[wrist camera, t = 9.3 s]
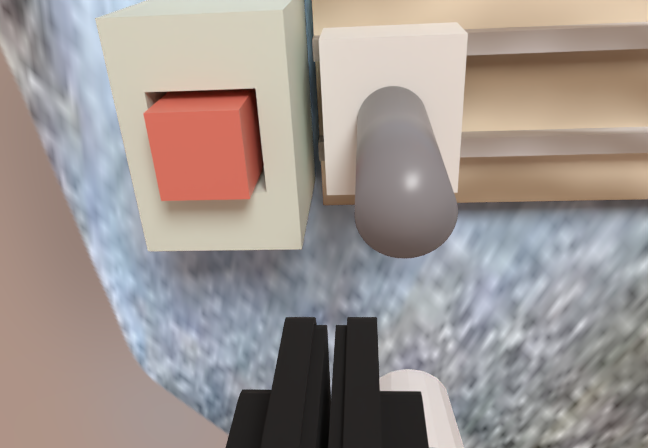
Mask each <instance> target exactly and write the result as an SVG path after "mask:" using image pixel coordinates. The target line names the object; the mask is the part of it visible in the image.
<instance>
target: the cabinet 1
mask: <svg viewBox="0 0 648 448" xmlns="http://www.w3.org/2000/svg"><path fill="white" fill-rule="evenodd" d="M95 19H96V24H97V28H98V33H99V37H100V42H101V46H102V50H103V55H104V59H105V64H106V68H107V72H108V77H109V81H110V86H111V90H112V95H113V99H114V103H115V108H116V112H117V117H118V121H119V125H120V130H121V134H122V139H123V143H124V147H125V152H126V156H127V161H128V165H129V170H130V174H131V178H132V183H133V187H134V192H135V196H136V200H137V205H138V209H139V214H140V218H141V223H142V227H143V231H144V236H145V240H146V245H147V249H148V251H211V250H291V249H302V246H303V241H304V235H305V230H306V225H307V220H308V214H309V209H310V204H311V199H312V193H313V188H314V183H315V163H314V147H313V131H312V115H311V99H310V83H309V67H308V51H307V35H306V19H305V3H304V0H146V1H144V2H141V3H138V4H135V5H132V6H129V7H126V8H124V9H121V10H118V11H115V12H112V13H109V14H106V15H103V16H101V17H98V18H95ZM253 88H255V89H256V98H257V107H258V117H259V126H260V135H261V145H262V154H263V163H264V166H263V169H262V171H261V174H260V176H259V178H258V181H257V183H256V186H255V188H254V191H253V193H252V195H251V198H250V199H236V200H185V201H161V198H160V193H159V188H158V183H157V178H156V173H155V169H154V164H153V159H152V154H151V149H150V144H149V139H148V134H147V129H146V124H145V120H144V115H143V113H144V112H145V111H146V110H148V109H149V108H150V107H151V106H152V105H153V104H155V103H156V102H157V101H158V100H159V99H160V98H162V97H163V96H164V95H165V94H166V93H167V92H169V91H196V90H224V89H253Z"/></svg>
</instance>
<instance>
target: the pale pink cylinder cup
mask: <svg viewBox="0 0 648 448" xmlns="http://www.w3.org/2000/svg"><path fill="white" fill-rule="evenodd" d="M379 384H380V391H421V394H422V399H423V406H424V414H425V421H426V429H427V437H428V444H429V448H464V446H463V443H462V440H461V436H460V433H459V430H458V427H457V423H456V420H455V417H454V413H453V410H452V407H451V404H450V400H449V397H448V394H447V391H446V388H445V386H444V385H443V384H442V383H441V382H440V381H439V380H438V379H437V378H436V377H434V376H432V375H430V374H428V373H426V372H424V371H418V370H411V369H404V370H398V371H393V372H390V373H388V374H386V375H384V376H382V377H380V378H379Z"/></svg>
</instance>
